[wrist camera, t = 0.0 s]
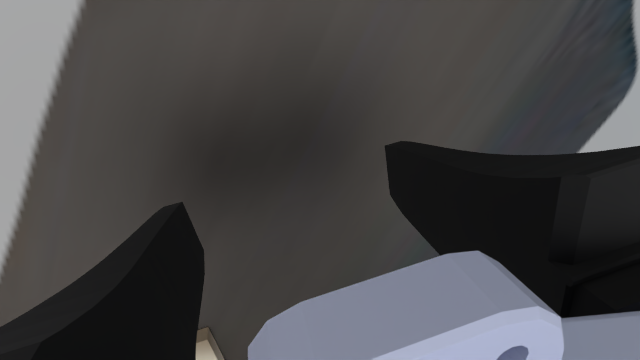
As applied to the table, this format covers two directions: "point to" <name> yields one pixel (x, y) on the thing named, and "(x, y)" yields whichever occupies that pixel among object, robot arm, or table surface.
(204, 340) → the post block
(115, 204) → the table surface
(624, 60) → the table surface
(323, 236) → the table surface
